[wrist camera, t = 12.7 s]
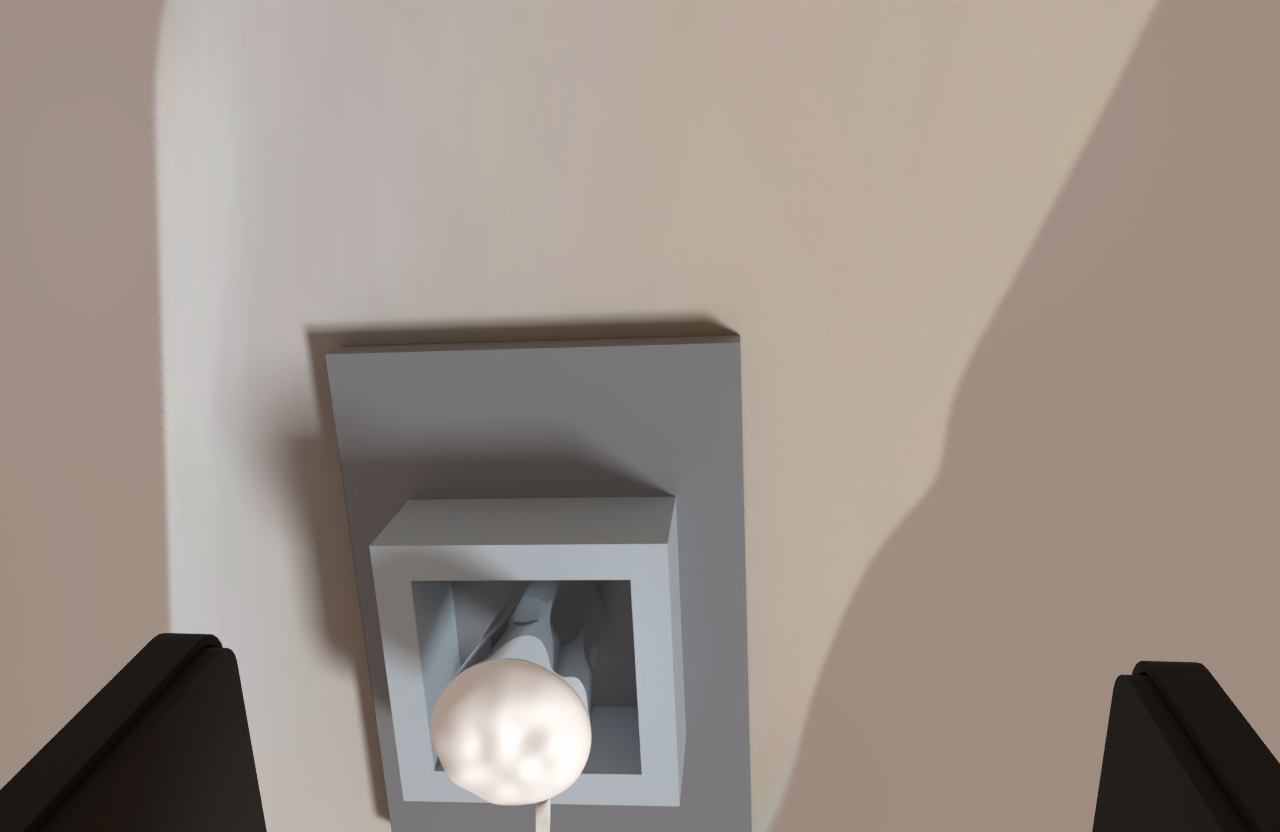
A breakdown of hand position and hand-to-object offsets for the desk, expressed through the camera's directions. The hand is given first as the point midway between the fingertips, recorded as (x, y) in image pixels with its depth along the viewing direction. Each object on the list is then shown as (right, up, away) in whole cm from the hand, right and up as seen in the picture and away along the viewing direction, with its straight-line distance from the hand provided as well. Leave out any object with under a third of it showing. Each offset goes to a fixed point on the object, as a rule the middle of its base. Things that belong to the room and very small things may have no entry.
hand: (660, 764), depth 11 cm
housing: (-3, -3, +27) cm, 28 cm away
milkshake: (-3, -3, +26) cm, 27 cm away
